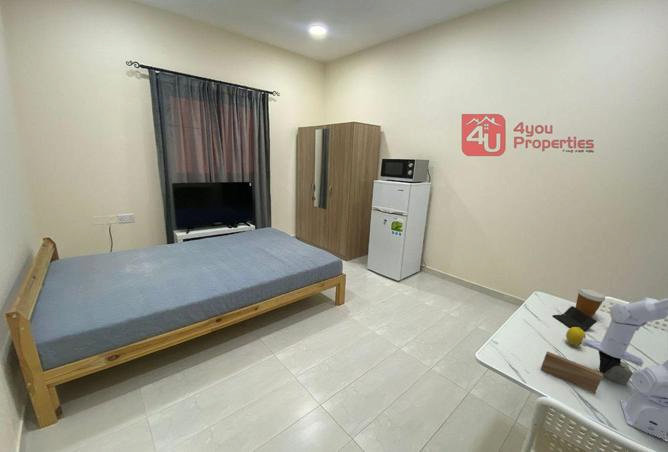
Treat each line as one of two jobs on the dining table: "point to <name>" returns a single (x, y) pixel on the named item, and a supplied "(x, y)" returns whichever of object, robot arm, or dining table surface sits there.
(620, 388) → the dining table surface
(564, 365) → the brown wooden block
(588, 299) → the disposable coffee cup
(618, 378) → the dice cube
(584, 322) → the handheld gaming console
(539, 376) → the dining table surface
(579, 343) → the lemon
